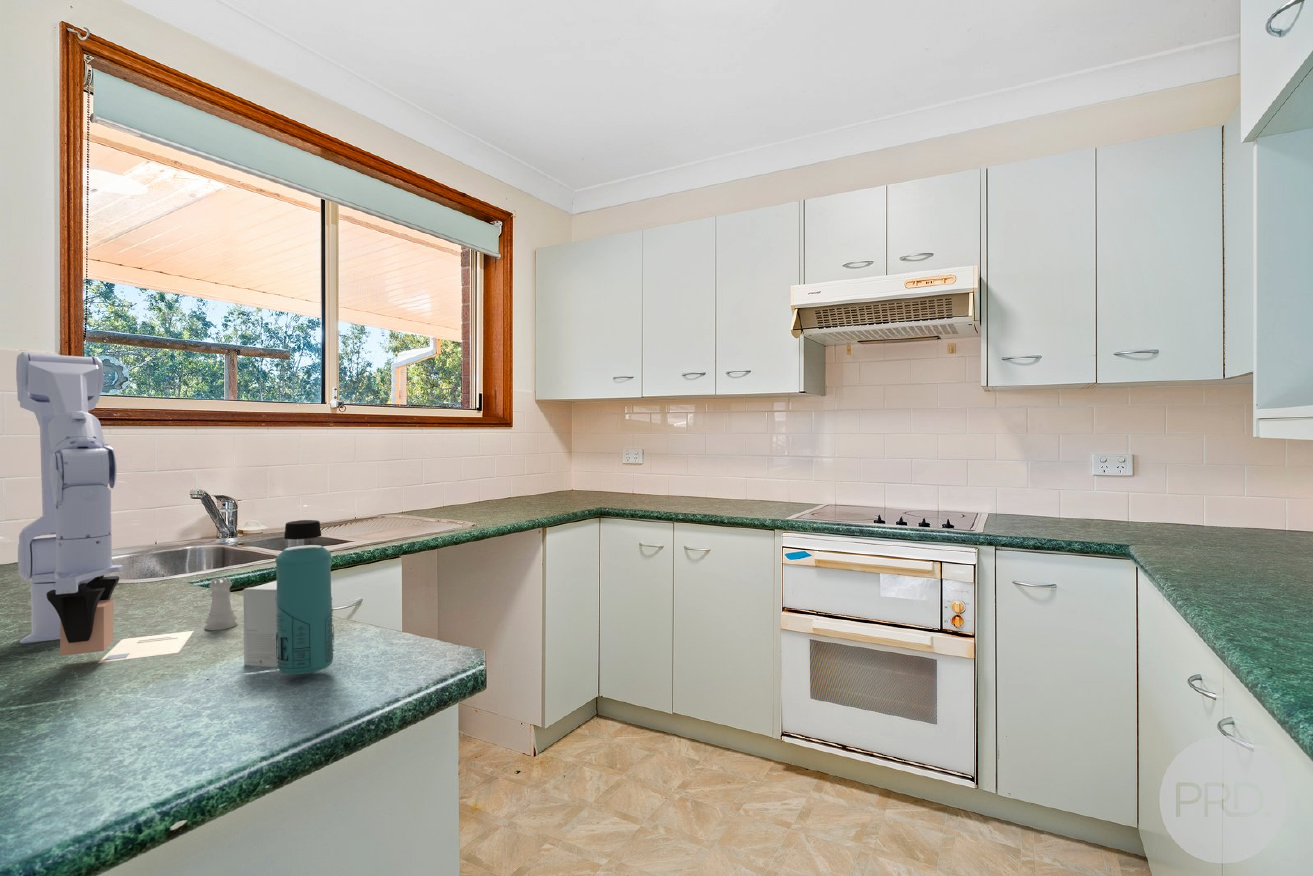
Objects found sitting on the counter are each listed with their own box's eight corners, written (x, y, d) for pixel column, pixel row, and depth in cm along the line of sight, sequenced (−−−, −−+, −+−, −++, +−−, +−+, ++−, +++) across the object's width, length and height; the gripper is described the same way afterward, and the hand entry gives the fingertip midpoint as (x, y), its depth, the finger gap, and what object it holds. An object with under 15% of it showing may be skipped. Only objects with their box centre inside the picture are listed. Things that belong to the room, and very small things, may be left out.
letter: (122, 641, 100) (122, 638, 100) (193, 632, 104) (193, 630, 104) (97, 665, 90) (97, 662, 90) (178, 654, 94) (178, 652, 94)
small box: (278, 669, 87) (277, 590, 87) (242, 667, 88) (241, 588, 88) (321, 650, 95) (320, 577, 95) (287, 648, 96) (286, 576, 96)
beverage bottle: (346, 671, 86) (344, 517, 86) (303, 690, 80) (301, 524, 80) (307, 666, 88) (305, 516, 88) (262, 684, 82) (261, 522, 82)
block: (71, 646, 91) (71, 602, 91) (113, 642, 93) (113, 599, 93) (60, 656, 87) (60, 610, 87) (103, 651, 89) (103, 606, 89)
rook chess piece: (214, 624, 109) (214, 576, 109) (243, 624, 109) (242, 575, 109) (198, 632, 104) (197, 582, 104) (227, 631, 105) (227, 581, 105)
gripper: (105, 541, 85) (106, 646, 85) (135, 528, 98) (136, 619, 98) (33, 545, 82) (34, 655, 82) (73, 531, 95) (75, 626, 95)
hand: (85, 636), depth 90 cm, fingers closed on block, 4 cm apart
